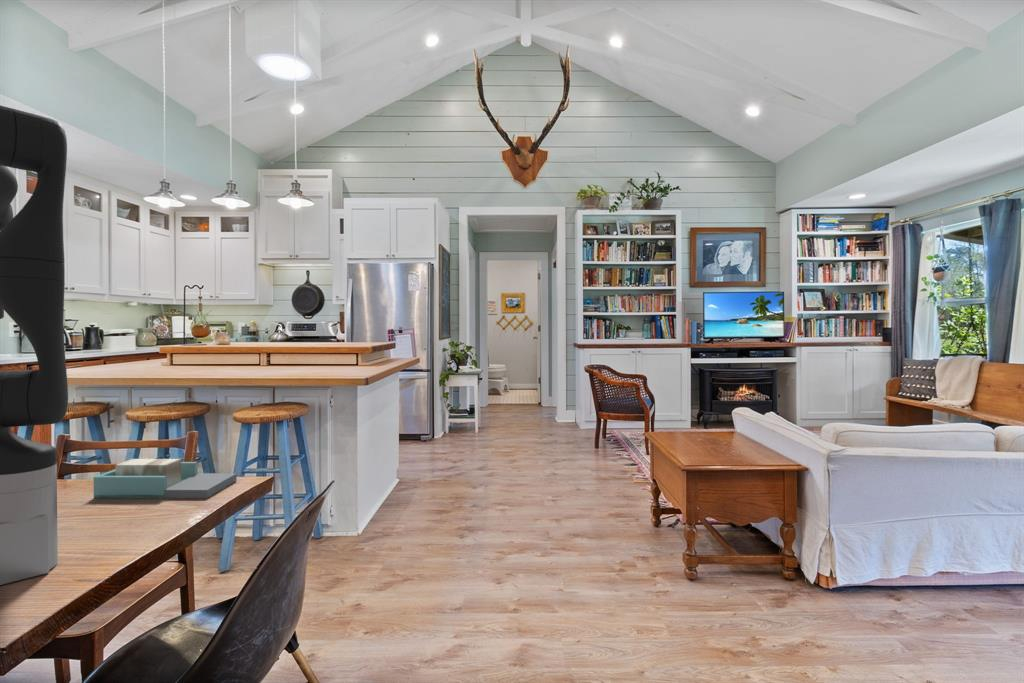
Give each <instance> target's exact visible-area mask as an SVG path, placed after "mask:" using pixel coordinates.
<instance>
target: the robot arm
mask: <svg viewBox="0 0 1024 683" xmlns="http://www.w3.org/2000/svg"><path fill="white" fill-rule="evenodd" d="M67 140H68V139H67V134H66V131H65V128H64V126H63V124H61V123H60V122H59V121H58V120H55V119H52V118H50V117H45V116H42V115H38V114H35V113H32V112H27V111H24V110H20V109H16V108H13V107H12V108H11V107H8V106H4V105H0V320H1V319H4V317H5V313H6V314H7V315H8V316H9V317H10V318H11V319H12V320H13V322H14V323H15V324H16V325H17V326H18V327H19V329H21V331H22V332H23V334H24V335H25V336H26V338H27V339H28V341H29V342H30V344H31V347H32V348H33V350H34V353H35V356H36V359H37V364H38V369H14V370H13V369H12V370H9V369H8V370H0V586H1V585H6V584H9V583H14V582H17V581H22V580H26V579H30V578H34V577H38V576H41V575H45V574H48V573H50V570H51V569H53V568H55V567H56V566H57V565H58V561H59V557H58V556H59V555H58V554H59V551H58V548H59V547H58V544H59V540H58V464H57V462H58V451H57V449H56V447H55V446H53V445H52V444H48V443H43V442H37V441H33V440H29V439H26V438H25V437H24V438H23V437H21V436H19V435H17V434H16V433H14V431H13V430H12V429H11V428H15V427H16V428H17V427H31V426H42V425H43V426H46V425H55V424H58V423H60V422H61V421H63V420H64V419H65V417H66V415H67V410H68V404H69V387H68V385H69V384H68V374H67V363H66V351H65V350H66V349H65V335H64V334H65V333H64V317H65V316H64V312H65V310H64V308H65V307H64V306H65V284H66V282H65V276H66V273H65V270H66V269H65V247H64V246H65V245H64V198H65V188H66V186H65V185H66V174H67V173H66V172H67V161H68V160H67V159H68V158H67V156H68V141H67ZM10 168H12V169H17V170H22V171H27V172H32V173H36V174H37V180H36V183H35V187H34V191H33V192H32V194H31V196H30V197H29V198H28V201H27V202H26V203H25V204H24V206H23V207H22V208H21V209H20V210H19V211H18V212H17V214H16V215H15V216H14V211H13V206H12V204H11V203H12V202H13V200H14V199H15V197H16V195H17V193H18V191H19V190H18V189H19V183H18V180H17V177H16V176H15V174H14V173H13V171H12V170H11V169H10Z"/></svg>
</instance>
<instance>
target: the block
mask: <svg viewBox="0 0 1024 683" xmlns="http://www.w3.org/2000/svg"><path fill="white" fill-rule="evenodd" d="M181 462H182V459H181V458H130V459H129V460H126V461H123V462H120V463H117V464H115V469H116V476H167V488H169V487H171V486H173V485H175V484H177V483H179V482H181Z"/></svg>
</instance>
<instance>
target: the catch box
mask: <svg viewBox="0 0 1024 683" xmlns="http://www.w3.org/2000/svg"><path fill="white" fill-rule="evenodd" d="M198 464H199V462H198V461H181V481H183V480H185V479H187V478H189V477H191V476H193V475H195V474H197V473H198V466H199V465H198ZM165 489H167V476H116V468H114V469H112V470H109V471H105V472H103V473H101V474H99V475H98V474H97V475H96V476H93V499H165V498H164V490H165Z"/></svg>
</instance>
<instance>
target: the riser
mask: <svg viewBox="0 0 1024 683" xmlns="http://www.w3.org/2000/svg"><path fill="white" fill-rule="evenodd" d="M237 476H238V475H237V473H233V472H232V473H231V472H230V473H224V472H223V473H219V472H217V473H214V472H213V473H212V472H211V473H209V472H207V473H204V472H203V473H202V472H200V473H197V474H195V475H193V476H191V477H189V478H187V479H185V480H183V481H181V482H179V483H177V484H175V485H173V486H171V487H169V488H167V489H165V490H164V498H163V499H208V498H210V497H212V496H213V495H216V494H217V493H219V492H221V491H222V490H224V489H225V488H228V487H229V486H230V485H232V484H234V483H236V482H237V480H238V479H237ZM198 478H199V479H198Z"/></svg>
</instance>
